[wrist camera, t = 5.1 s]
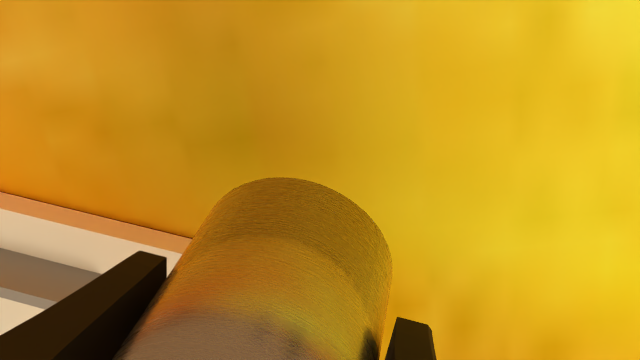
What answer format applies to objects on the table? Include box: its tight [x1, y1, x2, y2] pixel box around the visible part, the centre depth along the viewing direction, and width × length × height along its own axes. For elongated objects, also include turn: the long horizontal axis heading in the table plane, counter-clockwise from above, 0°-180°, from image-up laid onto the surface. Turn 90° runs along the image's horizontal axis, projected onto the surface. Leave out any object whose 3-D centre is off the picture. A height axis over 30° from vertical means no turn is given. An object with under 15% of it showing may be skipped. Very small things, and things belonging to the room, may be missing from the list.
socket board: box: [0, 192, 192, 335], centre depth 25 cm, size 20×12×3 cm, turn 83°
